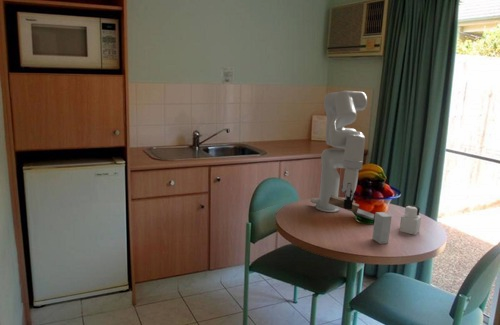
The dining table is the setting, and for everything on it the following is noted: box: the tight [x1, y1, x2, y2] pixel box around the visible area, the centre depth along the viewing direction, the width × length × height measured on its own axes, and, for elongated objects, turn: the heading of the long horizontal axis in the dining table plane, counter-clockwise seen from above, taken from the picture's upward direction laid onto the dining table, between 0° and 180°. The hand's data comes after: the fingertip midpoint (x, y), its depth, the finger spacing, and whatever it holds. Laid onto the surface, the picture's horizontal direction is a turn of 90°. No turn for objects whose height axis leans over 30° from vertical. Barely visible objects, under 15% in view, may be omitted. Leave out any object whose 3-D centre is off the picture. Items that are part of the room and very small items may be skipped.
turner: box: [328, 195, 375, 221], centre depth 175 cm, size 19×5×3 cm, turn 71°
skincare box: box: [372, 211, 392, 245], centre depth 179 cm, size 6×4×12 cm
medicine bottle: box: [399, 204, 422, 236], centre depth 193 cm, size 7×7×12 cm
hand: (348, 207), depth 176 cm, fingers closed on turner, 2 cm apart
